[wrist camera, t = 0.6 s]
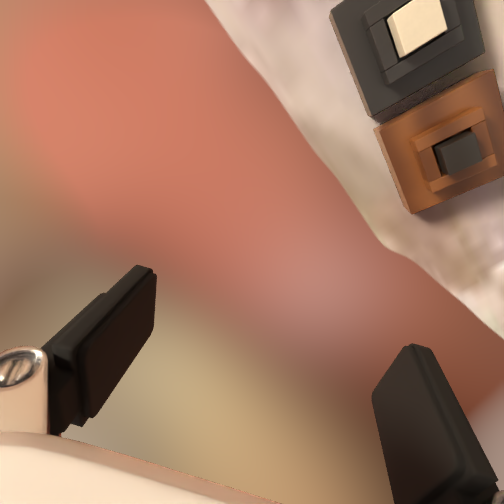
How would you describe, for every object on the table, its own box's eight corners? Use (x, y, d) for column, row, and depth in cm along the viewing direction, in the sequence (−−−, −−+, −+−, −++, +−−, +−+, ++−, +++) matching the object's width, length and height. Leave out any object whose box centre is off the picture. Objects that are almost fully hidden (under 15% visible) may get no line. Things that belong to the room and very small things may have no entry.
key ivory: (427, -8, 23) (435, -16, 21) (439, 34, 24) (448, 29, 22) (386, 20, 24) (392, 14, 22) (399, 58, 25) (405, 55, 23)
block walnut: (477, 71, 27) (506, 66, 23) (500, 165, 30) (530, 173, 26) (373, 129, 31) (382, 132, 27) (404, 207, 34) (417, 220, 30)
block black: (441, -67, 24) (465, -97, 20) (473, 55, 27) (498, 48, 23) (328, 17, 27) (332, 3, 24) (368, 116, 30) (376, 117, 27)
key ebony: (466, 130, 26) (475, 132, 25) (474, 158, 27) (483, 161, 26) (433, 146, 27) (440, 148, 26) (442, 172, 28) (449, 176, 27)
